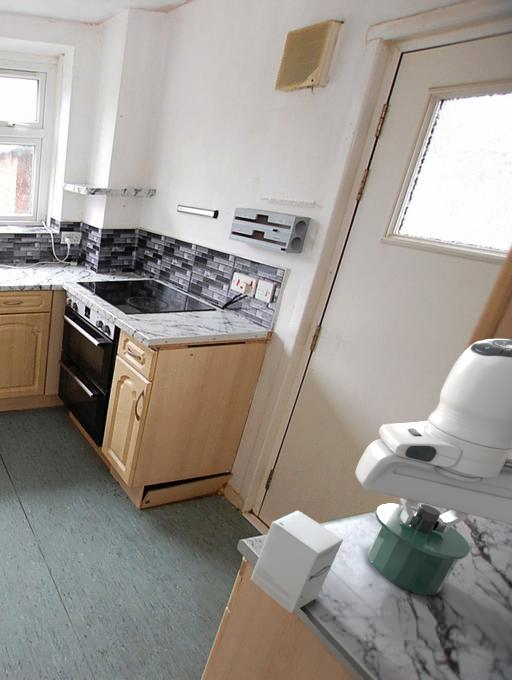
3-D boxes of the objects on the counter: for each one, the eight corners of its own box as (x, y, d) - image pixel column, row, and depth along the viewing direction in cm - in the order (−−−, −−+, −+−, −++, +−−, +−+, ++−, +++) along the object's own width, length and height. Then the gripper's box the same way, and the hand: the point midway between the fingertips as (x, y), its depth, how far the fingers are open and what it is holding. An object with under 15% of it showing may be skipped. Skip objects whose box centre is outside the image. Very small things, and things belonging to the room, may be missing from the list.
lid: (442, 521, 74) (455, 497, 72) (484, 573, 64) (499, 547, 62) (363, 501, 77) (373, 478, 75) (391, 548, 67) (403, 523, 66)
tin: (422, 559, 85) (442, 523, 82) (452, 604, 76) (475, 565, 73) (359, 541, 88) (375, 506, 85) (380, 582, 79) (399, 544, 76)
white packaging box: (291, 616, 71) (318, 554, 67) (248, 579, 77) (270, 520, 73) (318, 599, 75) (345, 539, 70) (275, 565, 81) (297, 508, 76)
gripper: (538, 455, 65) (494, 532, 70) (369, 422, 71) (339, 494, 76) (572, 481, 59) (522, 563, 64) (386, 442, 65) (352, 519, 70)
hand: (422, 525), depth 70 cm, fingers closed on lid, 2 cm apart
